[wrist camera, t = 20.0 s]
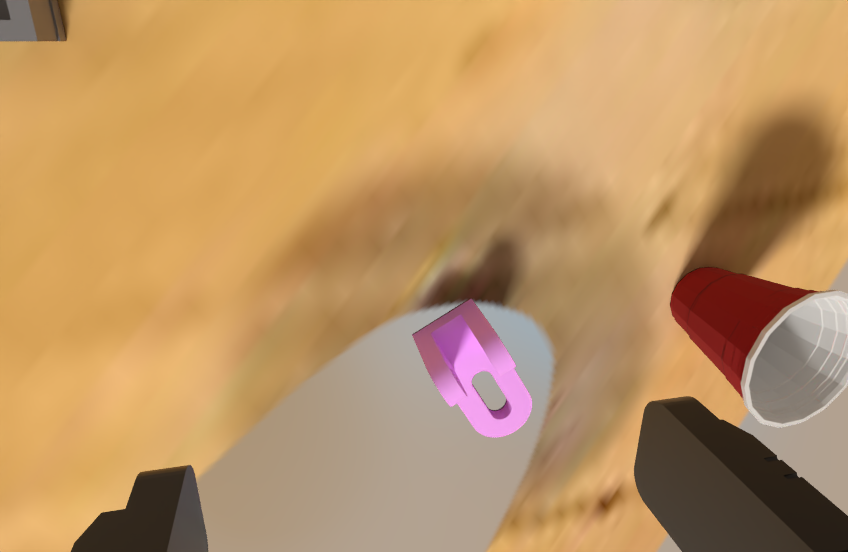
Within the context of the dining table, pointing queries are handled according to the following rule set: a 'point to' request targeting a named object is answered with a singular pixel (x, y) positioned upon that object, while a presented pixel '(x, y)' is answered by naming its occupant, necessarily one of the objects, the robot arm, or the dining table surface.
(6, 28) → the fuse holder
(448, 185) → the dining table surface
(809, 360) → the plastic cup
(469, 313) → the bracket
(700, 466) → the robot arm
